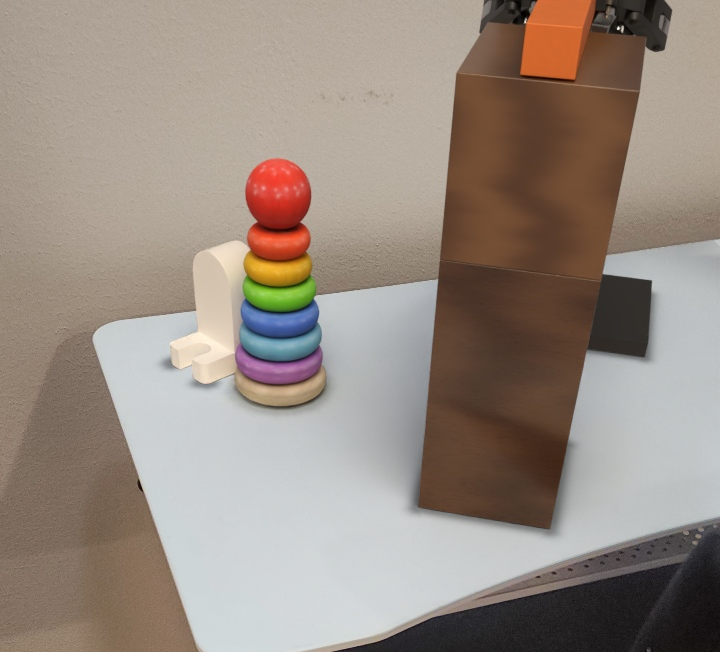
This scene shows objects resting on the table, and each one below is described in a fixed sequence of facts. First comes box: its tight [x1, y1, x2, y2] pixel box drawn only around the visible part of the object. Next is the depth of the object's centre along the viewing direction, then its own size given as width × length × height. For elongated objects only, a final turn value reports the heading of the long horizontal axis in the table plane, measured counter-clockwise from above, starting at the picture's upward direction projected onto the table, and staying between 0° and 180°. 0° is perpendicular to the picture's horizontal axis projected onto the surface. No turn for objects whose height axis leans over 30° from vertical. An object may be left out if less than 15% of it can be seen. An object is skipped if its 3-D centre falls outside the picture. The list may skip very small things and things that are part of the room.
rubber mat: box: [587, 273, 653, 358], centre depth 99 cm, size 10×14×2 cm
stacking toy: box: [233, 157, 327, 407], centre depth 81 cm, size 8×8×19 cm
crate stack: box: [417, 22, 647, 530], centre depth 69 cm, size 10×12×30 cm
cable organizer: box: [169, 239, 251, 385], centre depth 88 cm, size 5×10×10 cm, turn 134°
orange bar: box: [520, 0, 596, 80], centre depth 60 cm, size 3×19×2 cm, turn 167°
